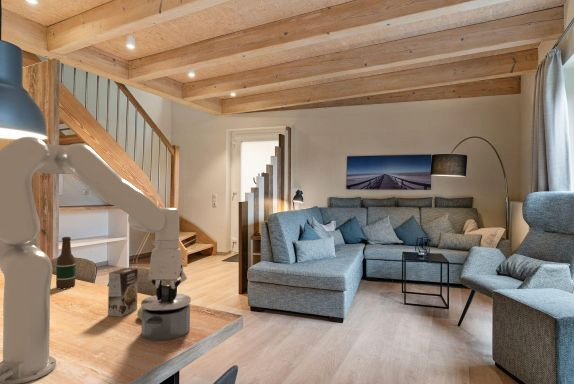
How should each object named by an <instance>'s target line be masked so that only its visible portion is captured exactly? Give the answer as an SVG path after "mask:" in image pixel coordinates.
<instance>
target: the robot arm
mask: <svg viewBox="0 0 574 384" xmlns="http://www.w3.org/2000/svg"><path fill="white" fill-rule="evenodd" d="M35 173H39V174H52V175H53V174H55V175H73V176H74V177H76V179H78V180H79V181H80V182H81V183H82V184H83V185H84V186H86V187H87V188H88V190H90V191H91V192H92V193H93V194H95V196H97V197H98V198H100V199H101V200H102V201H104V202H105V203H106V204H109V205H112V206H113V207H116V208H118V209H120V210H121V211H123V212H125V213H126V214H127V215H128V218H127V220H128V223H129V226H130V227H131V228H132V229H134V230H137V231H139V232H143V233H144V232H146V233H150V234H151V233H152V234H155V238H154V240H152V241H151V245H152V246H154V248H153V249H152V250H151V254H150V262H149V269H148V270H149V271H148V275H147V276H146V280H147V281H150V283H152V284H153V286H154V288H155V290H156V294H155V295H156V297H157V300H161V285H163V281H170V284H171V289H170V301H173V300H174V299H175V298H176V296H177V294H178V293H177V288H178V287H179V286H180V285H181V284H182V283H183V282H185V281H187V280H188V277H187V276H186V274H185V272H184V260H183V254H182V253H183V251H182V248H180V210H179V208H176V207H159V206H158V205H157V204H155V203H154V201H152V199H150V198H149V196H147V195H146V194H144V193H143V192H142V191H141V190H139V189H138V188H136V187H135V186H134V185H133V184H131V183H130V182H129V181H127V180H125V178H123V177H122V176H121V175H120V174H119V173H118V172H117V171H116V170H115V169H114V168H112V166H111V165H109V164H108V163H107V162H106V161H105V160H104V159H103V158H102V157H101V156H100V155H99V154H98V153H97V152H96V151H95V150H94V149H92V147H90V146H89V145H87V144H84V143H72V144H70V145H57V144H50V143H49V144H48V143H45V142H44V141H43V140H41V139H40V138H38V137H37V138H36V137H35V136H24V137H19V138H17V139H15V140H13V141H11V142H10V143H8V144H7V145H5V146H4V147H3V148H1V149H0V271H1V273H2V274H3V276H4V279H3V280H4V286H3V287H4V288H3V300H2V301H3V303H2V309H3V310H2V316H3V318H2V319H3V320H2V324H3V325H2V327H3V328H2V330H3V331H2V333H3V335H2V361H0V384H24V383H29V382H32V381H35V380H37V379H39V378H42V377H44V376H46V375H48V374H49V373H51V372H52V371H53V370H54V369H55V368H56V365H57V360H56V358H55V357H53V356H50V332H51V329H50V327H51V325H50V323H51V322H50V319H51V318H50V316H51V310H50V309H51V308H50V306H51V285H52V277H53V264H52V261H51V259H50V257H49V255H48V254H47V253H46V252H44V251H43V250H41V246H40V242H39V241H40V240H39V237H38V235H39V233H40V230H41V222H40V218H39V215H38V211H37V207H36V204H35V199H34V198H35V197H34V191H33V188H32V187H33V186H32V181H33V177H34V174H35ZM179 278H180V279H179Z"/></svg>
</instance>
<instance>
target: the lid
mask: <svg viewBox="0 0 574 384" xmlns="http://www.w3.org/2000/svg"><path fill="white" fill-rule="evenodd" d="M170 289H171V283H164V284H162V285H161V300H157V297H156V294H155V295H151V296H149V297H145V298H144V299H143V300H142V301H141V303H140V304H141V306H140V308H141V307H142V308H144V309H147V310H152V311H169V310H174V309H178V308H181V307H184V306H186V305H188V304H190V303H191V300H192V299H191V296H190V295H187V294H184V293H177V296H176V298H175V299H174V300H173V301H170Z"/></svg>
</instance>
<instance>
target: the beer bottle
mask: <svg viewBox="0 0 574 384" xmlns="http://www.w3.org/2000/svg"><path fill="white" fill-rule="evenodd" d="M71 240H72V238H71V237H70V236H64V237H61V241H62V243H61V252H60V255H59V256H58V257H57V260H56V264H55V265H56V270H55V271H56V272H55V273H56V274H55V276H56V277H55V279H56V281H55V287H56V289H58V288H68V289H72V288H74V287H75V286H76V258H75V256H74V254H72V247H71ZM71 287H72V288H71Z"/></svg>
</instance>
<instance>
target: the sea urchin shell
mask: <svg viewBox="0 0 574 384" xmlns="http://www.w3.org/2000/svg"><path fill="white" fill-rule="evenodd" d="M142 309H143V308H142V307H141V306H140V308H139V309H138V311H137V318H138V319H139V320H140V321H142Z"/></svg>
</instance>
